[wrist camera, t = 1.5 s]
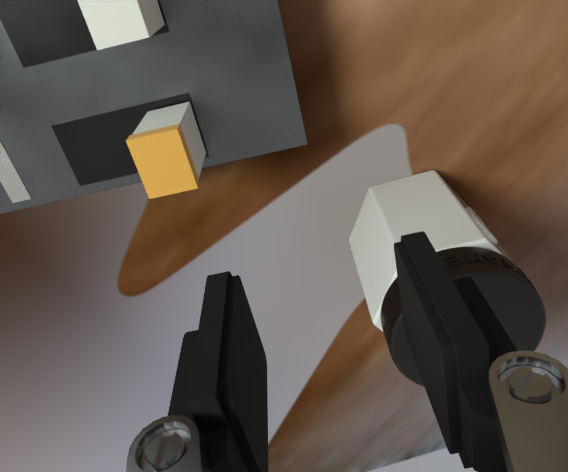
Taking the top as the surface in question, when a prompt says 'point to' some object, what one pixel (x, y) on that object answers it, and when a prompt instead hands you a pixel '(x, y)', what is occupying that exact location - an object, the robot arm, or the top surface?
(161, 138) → the paddle on
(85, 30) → the breaker panel
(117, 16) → the paddle
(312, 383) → the top surface
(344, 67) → the top surface
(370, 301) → the jar
